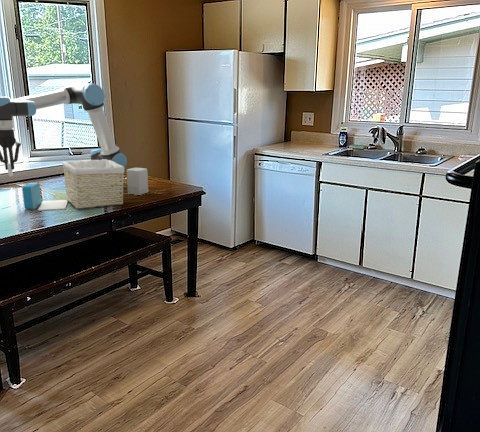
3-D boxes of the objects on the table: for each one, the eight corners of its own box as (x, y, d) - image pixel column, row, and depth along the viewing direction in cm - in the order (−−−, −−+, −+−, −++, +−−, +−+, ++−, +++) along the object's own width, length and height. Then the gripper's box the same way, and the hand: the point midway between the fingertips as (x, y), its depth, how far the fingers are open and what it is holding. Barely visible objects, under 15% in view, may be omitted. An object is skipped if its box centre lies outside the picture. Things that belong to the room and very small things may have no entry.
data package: (33, 203, 238) (30, 182, 235) (41, 203, 239) (39, 182, 235) (24, 209, 227) (21, 187, 223) (33, 209, 227) (31, 187, 224)
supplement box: (149, 193, 266) (148, 168, 262) (139, 196, 258) (138, 170, 254) (136, 191, 269) (135, 167, 265) (127, 194, 262) (125, 169, 257)
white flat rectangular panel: (68, 200, 245) (68, 199, 245) (65, 209, 229) (65, 208, 229) (43, 202, 242) (42, 200, 242) (38, 210, 225) (37, 209, 225)
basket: (111, 194, 261) (110, 157, 255) (127, 204, 239) (126, 165, 233) (63, 199, 246) (60, 160, 240) (76, 210, 225) (73, 168, 219)
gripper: (-12, 129, 214) (-5, 177, 220) (18, 129, 217) (23, 176, 224) (-8, 128, 221) (-2, 174, 227) (20, 128, 224) (26, 174, 231)
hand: (10, 175), depth 225 cm, fingers closed
